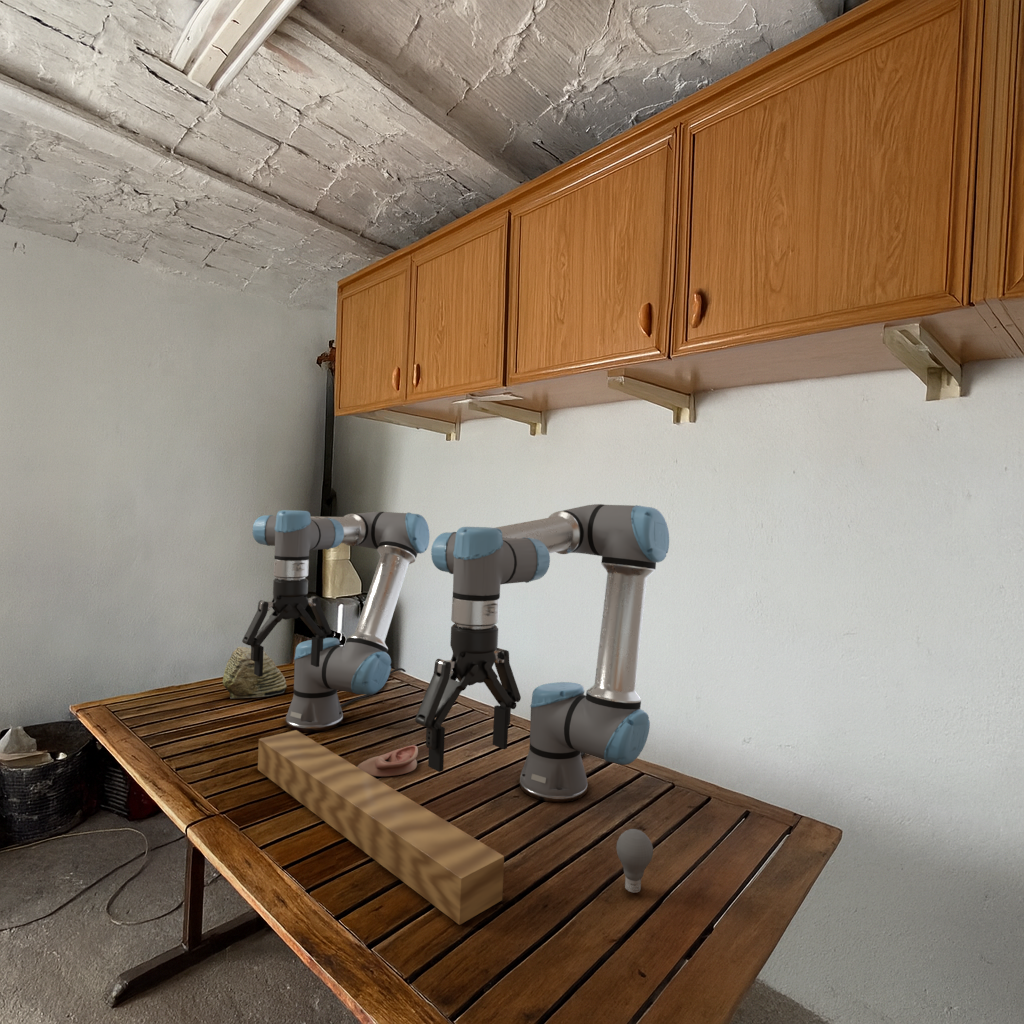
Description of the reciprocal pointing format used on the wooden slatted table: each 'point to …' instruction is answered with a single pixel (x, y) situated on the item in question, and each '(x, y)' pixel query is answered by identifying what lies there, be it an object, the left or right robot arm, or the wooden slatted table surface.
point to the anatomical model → (391, 762)
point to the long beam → (387, 826)
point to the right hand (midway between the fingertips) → (469, 757)
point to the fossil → (252, 676)
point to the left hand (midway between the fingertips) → (287, 670)
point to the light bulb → (634, 857)
